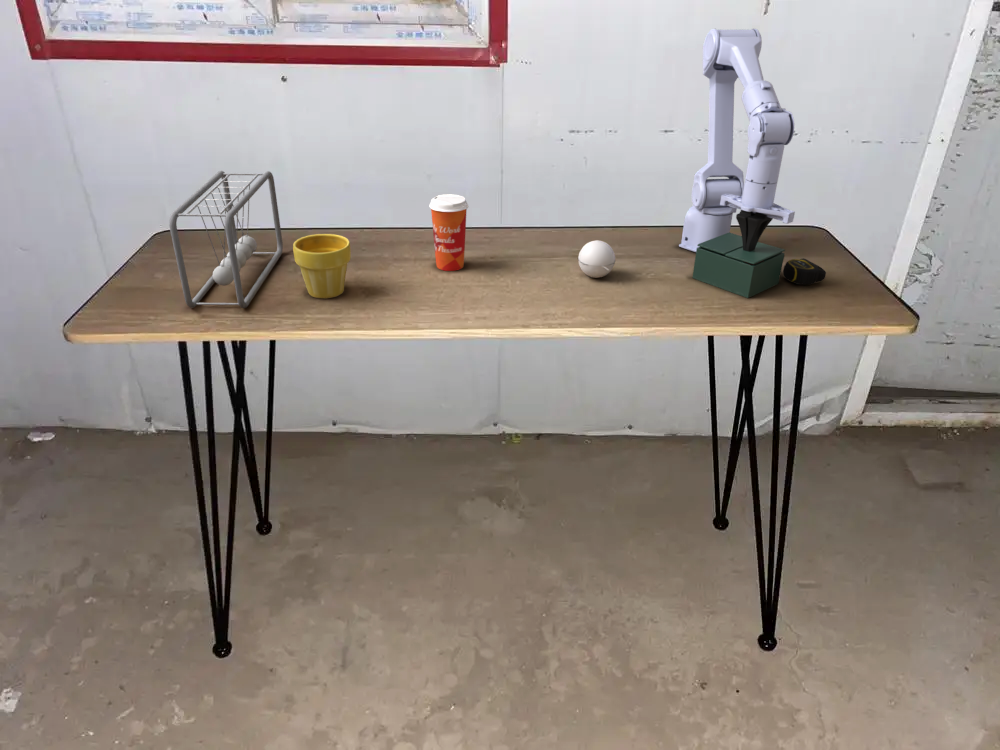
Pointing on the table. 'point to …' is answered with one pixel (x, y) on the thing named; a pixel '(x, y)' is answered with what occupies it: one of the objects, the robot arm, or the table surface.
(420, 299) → the table surface
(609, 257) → the seamed sphere
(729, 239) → the carton
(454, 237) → the paper cup
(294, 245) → the flower pot
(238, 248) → the newton's cradle
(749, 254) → the flap
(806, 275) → the tape measure
